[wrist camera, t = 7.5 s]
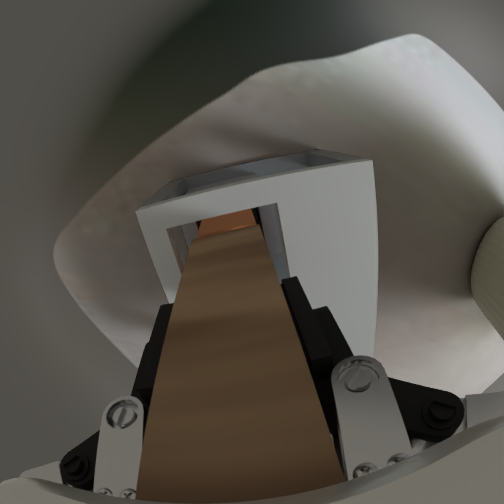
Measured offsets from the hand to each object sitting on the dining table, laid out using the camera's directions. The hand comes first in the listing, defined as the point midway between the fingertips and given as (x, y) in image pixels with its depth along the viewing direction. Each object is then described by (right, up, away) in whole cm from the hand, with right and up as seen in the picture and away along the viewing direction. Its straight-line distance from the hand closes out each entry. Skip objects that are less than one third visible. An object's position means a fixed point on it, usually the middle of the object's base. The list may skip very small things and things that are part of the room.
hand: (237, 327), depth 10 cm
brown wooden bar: (0, +2, +5) cm, 5 cm away
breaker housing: (+2, +2, +14) cm, 14 cm away
